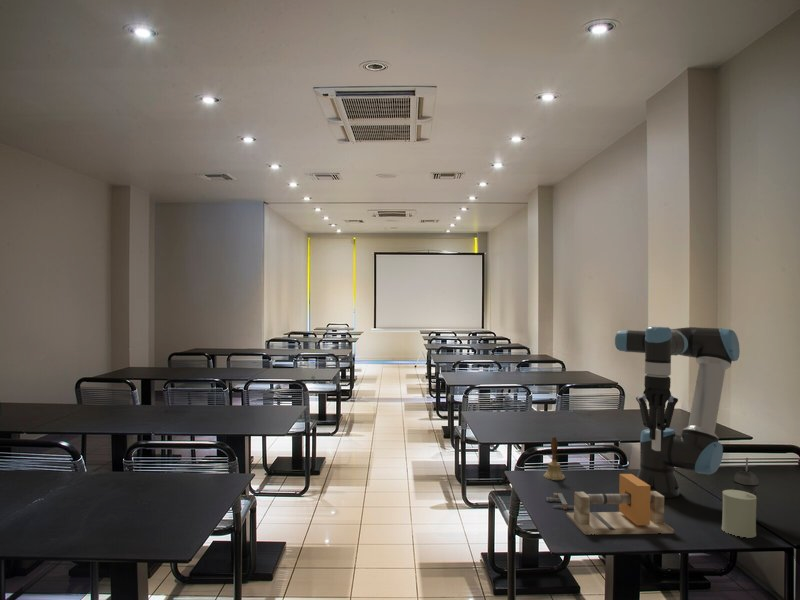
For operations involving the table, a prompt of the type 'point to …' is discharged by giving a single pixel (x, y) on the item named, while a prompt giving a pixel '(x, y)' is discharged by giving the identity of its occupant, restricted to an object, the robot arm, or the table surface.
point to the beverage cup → (746, 481)
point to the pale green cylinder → (739, 513)
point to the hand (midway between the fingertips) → (656, 449)
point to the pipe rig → (616, 515)
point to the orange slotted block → (635, 499)
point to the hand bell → (554, 464)
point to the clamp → (559, 498)
